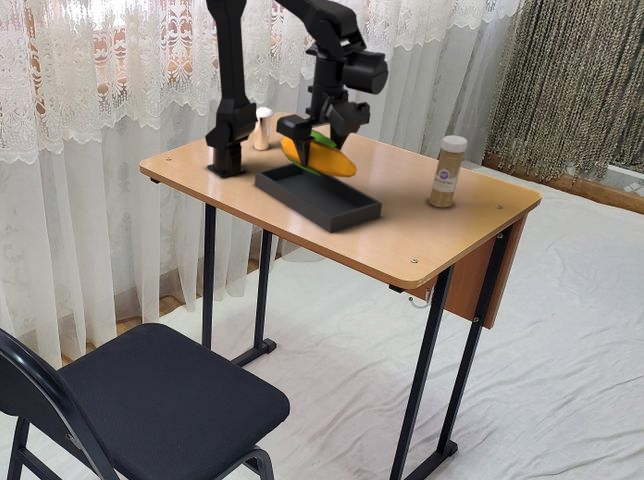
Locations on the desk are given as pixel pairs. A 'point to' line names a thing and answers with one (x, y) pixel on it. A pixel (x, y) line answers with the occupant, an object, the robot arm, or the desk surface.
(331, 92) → the robot arm
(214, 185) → the desk surface
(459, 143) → the sprinkles bottle
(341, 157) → the corn
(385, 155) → the desk surface
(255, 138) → the milkshake
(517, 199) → the desk surface
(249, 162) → the desk surface
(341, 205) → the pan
